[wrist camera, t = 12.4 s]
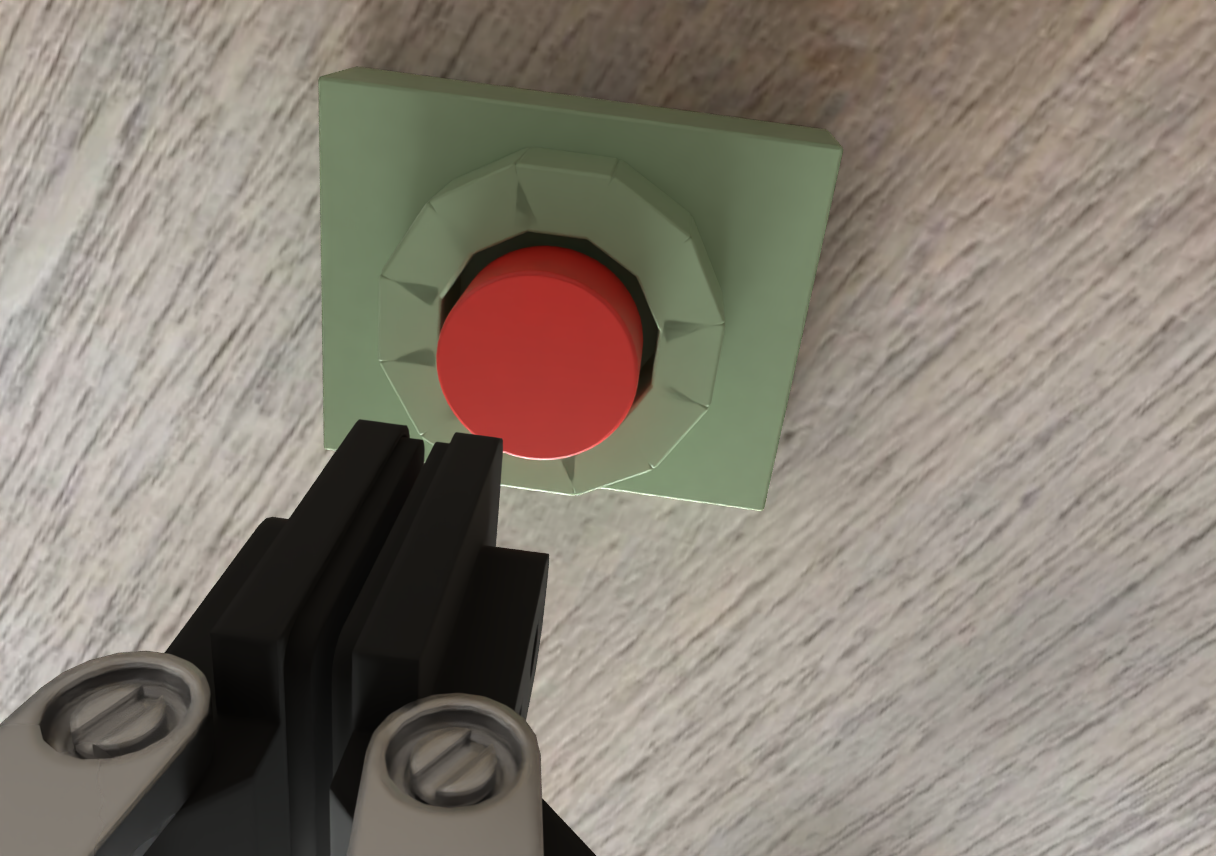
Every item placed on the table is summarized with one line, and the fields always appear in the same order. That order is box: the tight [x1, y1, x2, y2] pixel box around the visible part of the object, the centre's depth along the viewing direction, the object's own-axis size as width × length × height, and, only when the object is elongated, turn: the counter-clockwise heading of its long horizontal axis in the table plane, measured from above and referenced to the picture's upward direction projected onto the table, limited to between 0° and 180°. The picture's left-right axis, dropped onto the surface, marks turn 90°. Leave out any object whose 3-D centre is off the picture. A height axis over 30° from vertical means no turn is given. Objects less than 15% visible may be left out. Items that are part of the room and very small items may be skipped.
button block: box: [318, 67, 843, 511], centre depth 20 cm, size 10×8×4 cm
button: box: [436, 246, 643, 460], centre depth 17 cm, size 4×4×2 cm
